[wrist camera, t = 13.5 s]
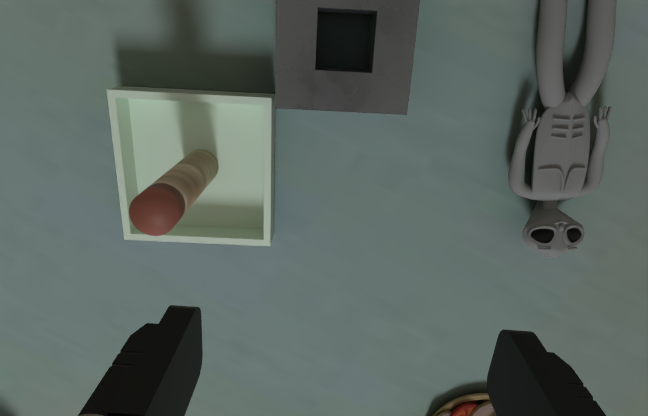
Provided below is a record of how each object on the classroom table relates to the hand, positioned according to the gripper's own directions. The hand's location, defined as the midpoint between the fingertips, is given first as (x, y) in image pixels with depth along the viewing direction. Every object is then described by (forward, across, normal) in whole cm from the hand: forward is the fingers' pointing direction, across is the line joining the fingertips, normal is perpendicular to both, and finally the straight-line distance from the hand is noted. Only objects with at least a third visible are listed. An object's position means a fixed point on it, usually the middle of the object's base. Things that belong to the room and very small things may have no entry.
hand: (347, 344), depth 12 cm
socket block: (+29, 0, -7) cm, 30 cm away
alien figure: (+30, -19, -2) cm, 36 cm away
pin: (+28, +12, +4) cm, 31 cm away
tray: (+29, +12, +4) cm, 31 cm away
